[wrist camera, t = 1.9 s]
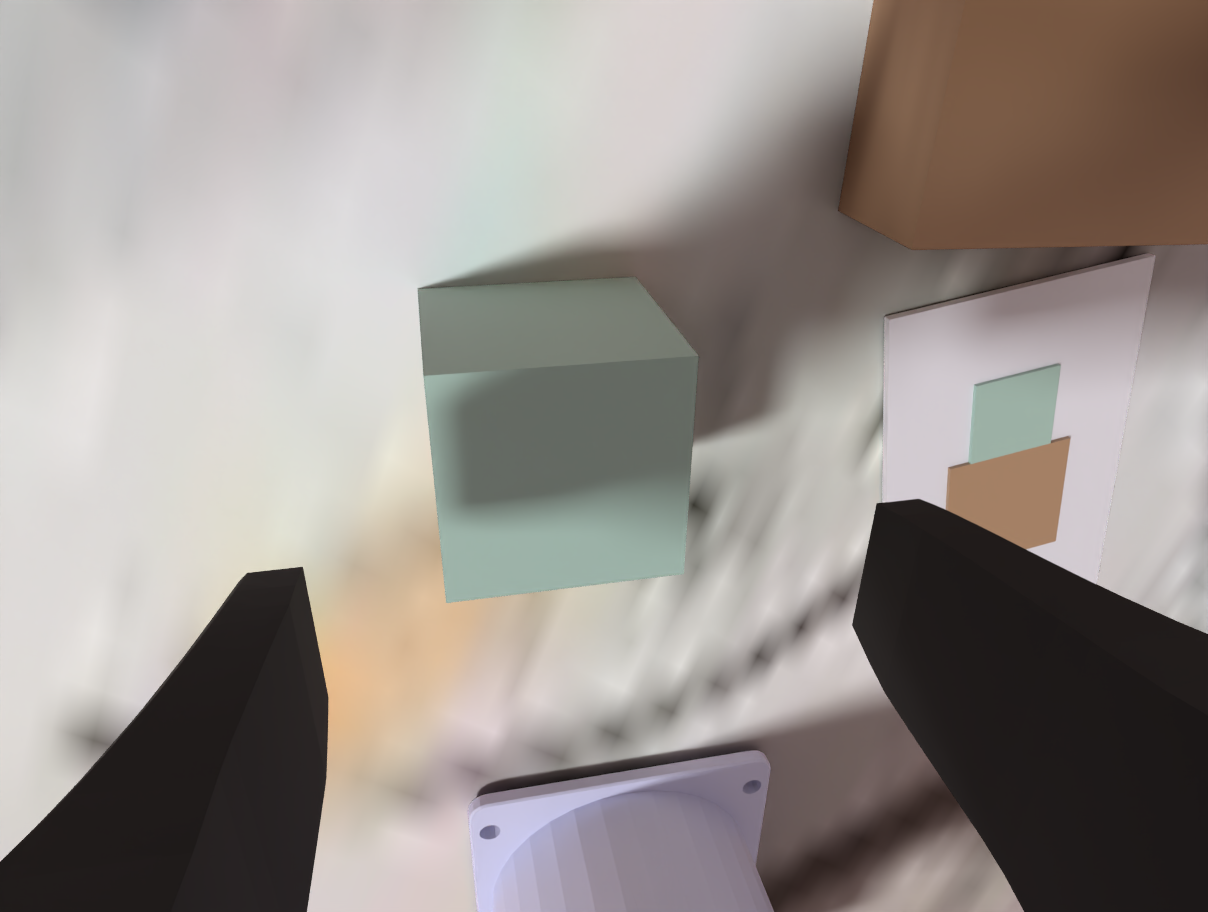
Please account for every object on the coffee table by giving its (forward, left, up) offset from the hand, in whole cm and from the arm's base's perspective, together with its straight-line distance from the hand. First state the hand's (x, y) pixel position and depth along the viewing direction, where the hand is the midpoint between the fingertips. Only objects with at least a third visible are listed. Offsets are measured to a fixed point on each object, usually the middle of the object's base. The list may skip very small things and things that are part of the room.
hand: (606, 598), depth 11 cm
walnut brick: (+6, -9, -7) cm, 13 cm away
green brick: (0, 0, -7) cm, 7 cm away
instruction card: (-3, -11, -7) cm, 13 cm away
